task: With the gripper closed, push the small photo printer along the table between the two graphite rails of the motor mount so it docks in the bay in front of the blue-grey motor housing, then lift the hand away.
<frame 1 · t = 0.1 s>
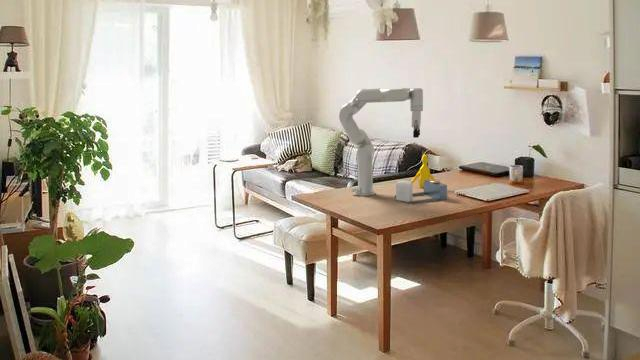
hand: (416, 136, 359), 37 cm above the table, tool pointing down, fingers open, 9 cm apart
motor mount: (417, 199, 356), on the table
figure statuette: (424, 187, 389), on the table
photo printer: (404, 201, 354), on the table
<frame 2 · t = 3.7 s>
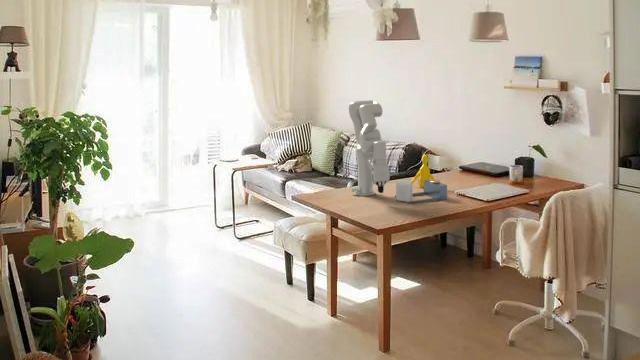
hand: (380, 192, 346), 7 cm above the table, tool pointing down, fingers closed
nothing on the table moved.
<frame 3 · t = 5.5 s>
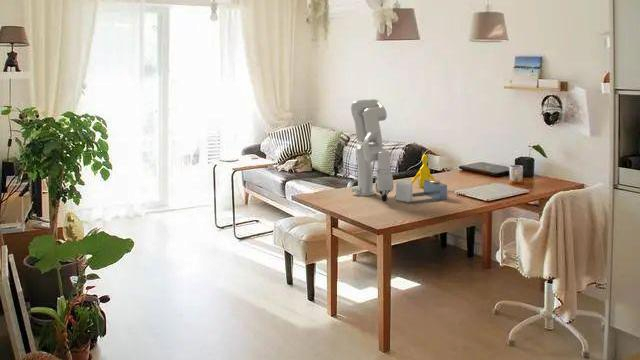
hand: (384, 201, 349), 1 cm above the table, tool pointing down, fingers closed
nothing on the table moved.
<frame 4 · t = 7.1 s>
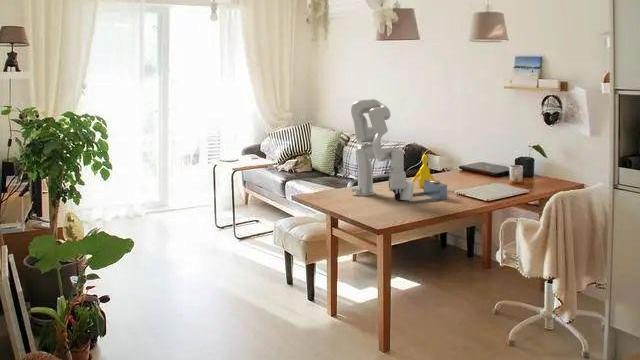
hand: (397, 199, 352), 1 cm above the table, tool pointing down, fingers closed
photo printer: (404, 200, 353), on the table, touching gripper
everything else where it was.
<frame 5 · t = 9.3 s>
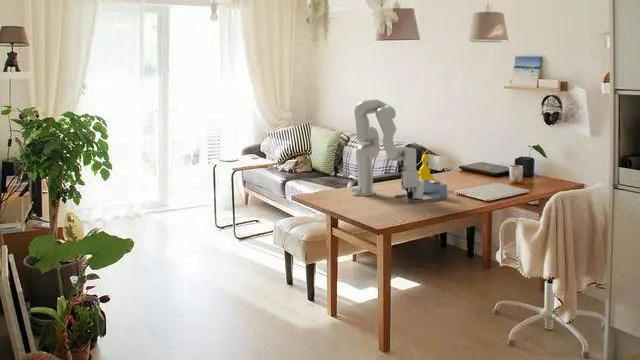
hand: (409, 198, 354), 1 cm above the table, tool pointing down, fingers closed
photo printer: (414, 198, 357), on the table, touching gripper
everything else where it was.
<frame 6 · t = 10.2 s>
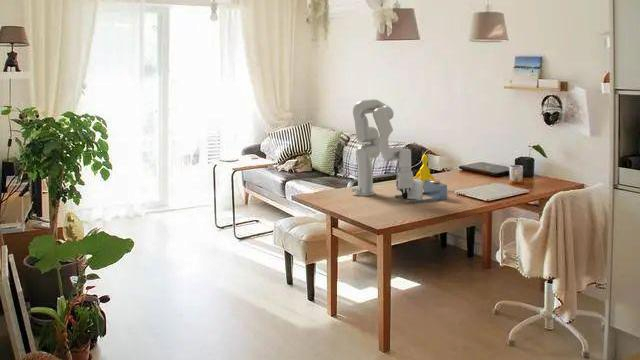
hand: (404, 199, 354), 1 cm above the table, tool pointing down, fingers closed
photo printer: (414, 199, 357), on the table
everything else where it was.
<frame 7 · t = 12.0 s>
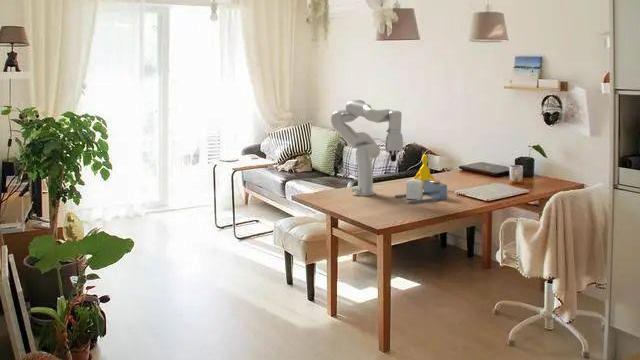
hand: (393, 161, 355), 23 cm above the table, tool pointing down, fingers closed
nothing on the table moved.
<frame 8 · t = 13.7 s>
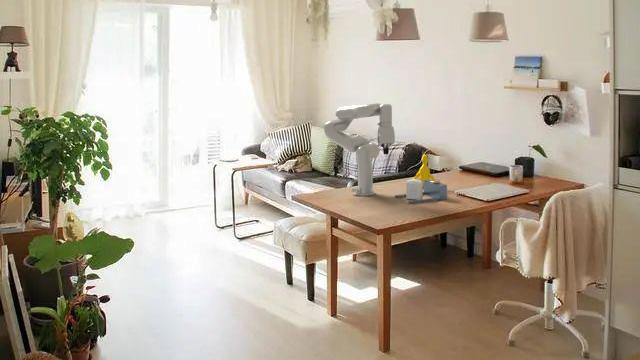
hand: (386, 154, 359), 27 cm above the table, tool pointing down, fingers closed
nothing on the table moved.
at the end: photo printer inside the target area on the motor mount (3.0 cm from its centre), point 0.0 cm above the motor mount's base; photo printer moved 7.6 cm from its start; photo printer tilted 0° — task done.
